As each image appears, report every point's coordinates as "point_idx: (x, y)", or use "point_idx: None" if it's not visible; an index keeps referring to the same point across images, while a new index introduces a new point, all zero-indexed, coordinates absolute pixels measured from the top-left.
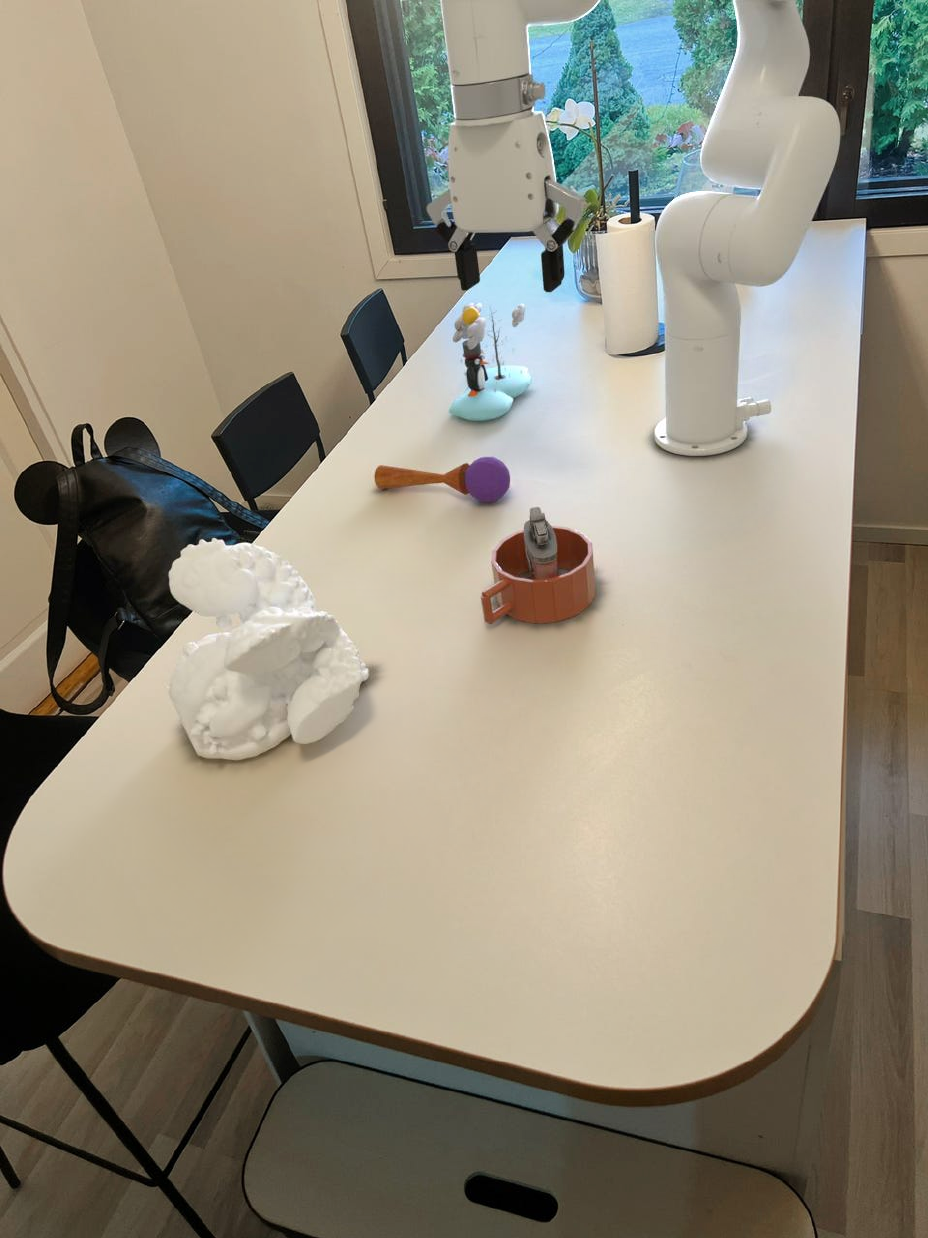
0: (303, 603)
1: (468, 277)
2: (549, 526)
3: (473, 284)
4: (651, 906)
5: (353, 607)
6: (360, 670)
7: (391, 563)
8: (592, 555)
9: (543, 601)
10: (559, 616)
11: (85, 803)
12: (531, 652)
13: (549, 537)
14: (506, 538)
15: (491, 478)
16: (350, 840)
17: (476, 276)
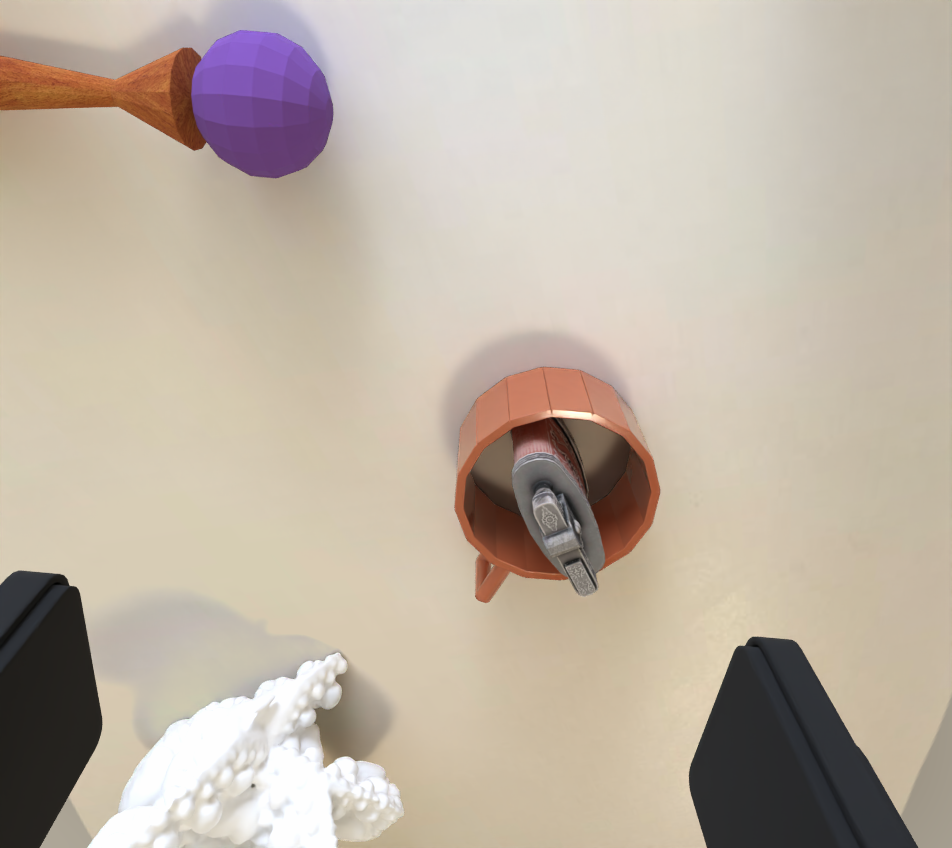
0: (234, 768)
1: (57, 776)
2: (570, 484)
3: (88, 674)
4: None
5: (216, 535)
6: (396, 808)
7: (199, 408)
8: (659, 492)
9: None
10: None
11: None
12: (564, 580)
13: (580, 520)
14: (467, 467)
15: (296, 161)
16: (459, 823)
17: (54, 656)
